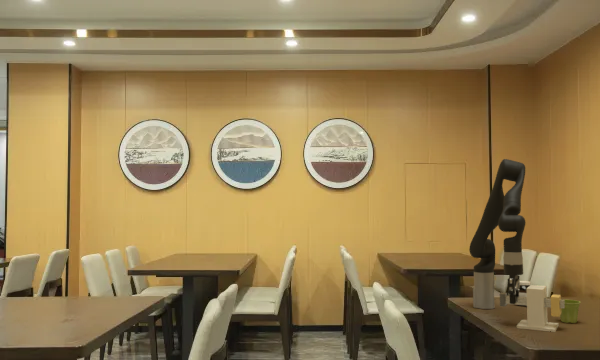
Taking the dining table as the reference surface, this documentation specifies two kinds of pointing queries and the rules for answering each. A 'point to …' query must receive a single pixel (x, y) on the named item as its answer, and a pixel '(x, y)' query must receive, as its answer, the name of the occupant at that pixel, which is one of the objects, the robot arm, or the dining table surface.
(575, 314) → the plant pot
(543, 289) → the bracket
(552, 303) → the block
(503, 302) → the shaft
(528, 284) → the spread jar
